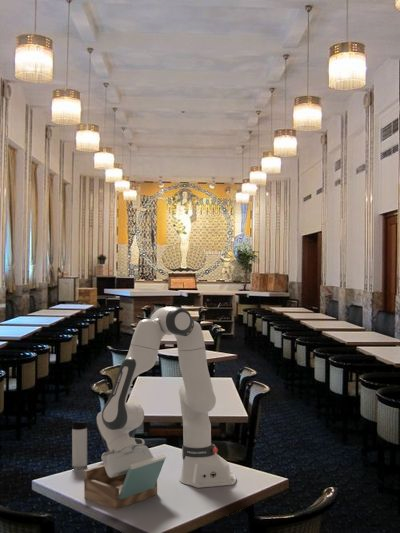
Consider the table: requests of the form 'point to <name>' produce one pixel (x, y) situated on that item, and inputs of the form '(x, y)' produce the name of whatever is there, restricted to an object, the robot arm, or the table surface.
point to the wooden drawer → (110, 489)
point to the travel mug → (79, 444)
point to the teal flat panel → (142, 476)
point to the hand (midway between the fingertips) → (138, 481)
